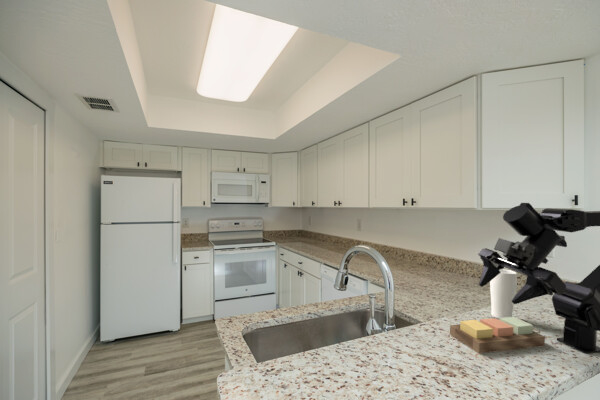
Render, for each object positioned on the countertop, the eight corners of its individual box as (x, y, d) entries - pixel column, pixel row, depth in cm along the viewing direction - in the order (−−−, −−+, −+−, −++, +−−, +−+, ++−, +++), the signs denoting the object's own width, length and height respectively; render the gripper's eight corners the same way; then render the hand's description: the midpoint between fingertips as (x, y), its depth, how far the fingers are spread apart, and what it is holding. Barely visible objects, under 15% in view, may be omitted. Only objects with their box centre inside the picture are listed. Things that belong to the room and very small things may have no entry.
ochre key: (475, 329, 72) (475, 319, 72) (492, 339, 67) (493, 328, 67) (459, 331, 71) (460, 321, 71) (476, 341, 66) (476, 330, 66)
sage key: (513, 326, 75) (513, 316, 75) (532, 335, 70) (533, 325, 70) (499, 327, 74) (499, 317, 74) (517, 336, 69) (518, 326, 69)
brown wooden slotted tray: (509, 328, 77) (510, 320, 77) (544, 346, 68) (544, 336, 68) (449, 334, 73) (450, 325, 72) (478, 353, 64) (479, 343, 64)
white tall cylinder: (503, 323, 80) (506, 274, 80) (483, 313, 87) (485, 268, 87) (520, 321, 82) (522, 273, 82) (498, 312, 89) (500, 267, 89)
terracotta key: (494, 327, 73) (495, 318, 73) (512, 337, 69) (513, 327, 69) (479, 329, 72) (480, 319, 72) (497, 339, 67) (497, 328, 67)
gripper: (485, 220, 75) (449, 261, 75) (561, 238, 57) (514, 292, 57) (506, 244, 78) (472, 284, 77) (585, 269, 60) (541, 321, 59)
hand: (495, 293), depth 67 cm, fingers open, 9 cm apart
